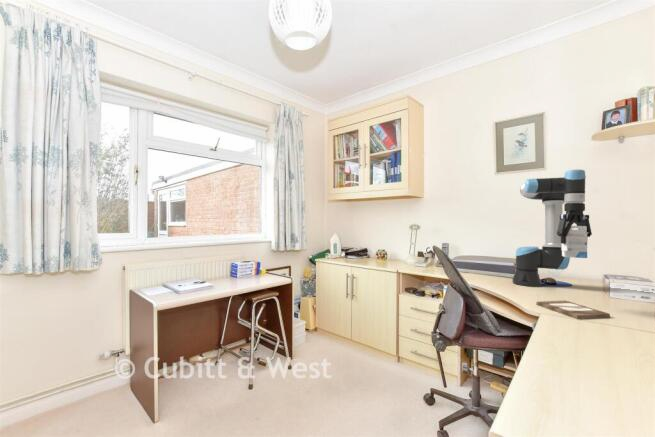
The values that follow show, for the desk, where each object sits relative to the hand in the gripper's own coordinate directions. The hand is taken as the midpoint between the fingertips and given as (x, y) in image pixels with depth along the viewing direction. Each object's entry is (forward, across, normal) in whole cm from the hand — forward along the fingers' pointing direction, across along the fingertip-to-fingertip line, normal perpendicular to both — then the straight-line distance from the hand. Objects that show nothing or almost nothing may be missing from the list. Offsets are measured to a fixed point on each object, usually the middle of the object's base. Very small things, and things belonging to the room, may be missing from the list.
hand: (574, 250), depth 141 cm
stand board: (+26, -7, -5) cm, 28 cm away
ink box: (+3, 0, 0) cm, 3 cm away
